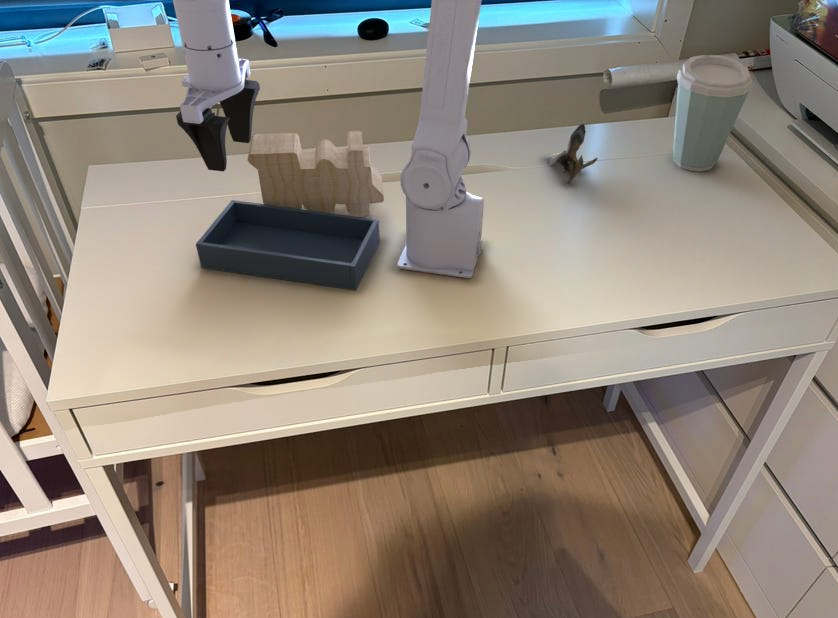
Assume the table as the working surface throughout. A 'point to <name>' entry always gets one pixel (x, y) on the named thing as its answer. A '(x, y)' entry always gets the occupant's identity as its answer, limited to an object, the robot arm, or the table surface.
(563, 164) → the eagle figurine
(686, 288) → the table surface
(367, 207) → the toy train
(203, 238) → the open box
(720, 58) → the disposable coffee cup
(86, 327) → the table surface
